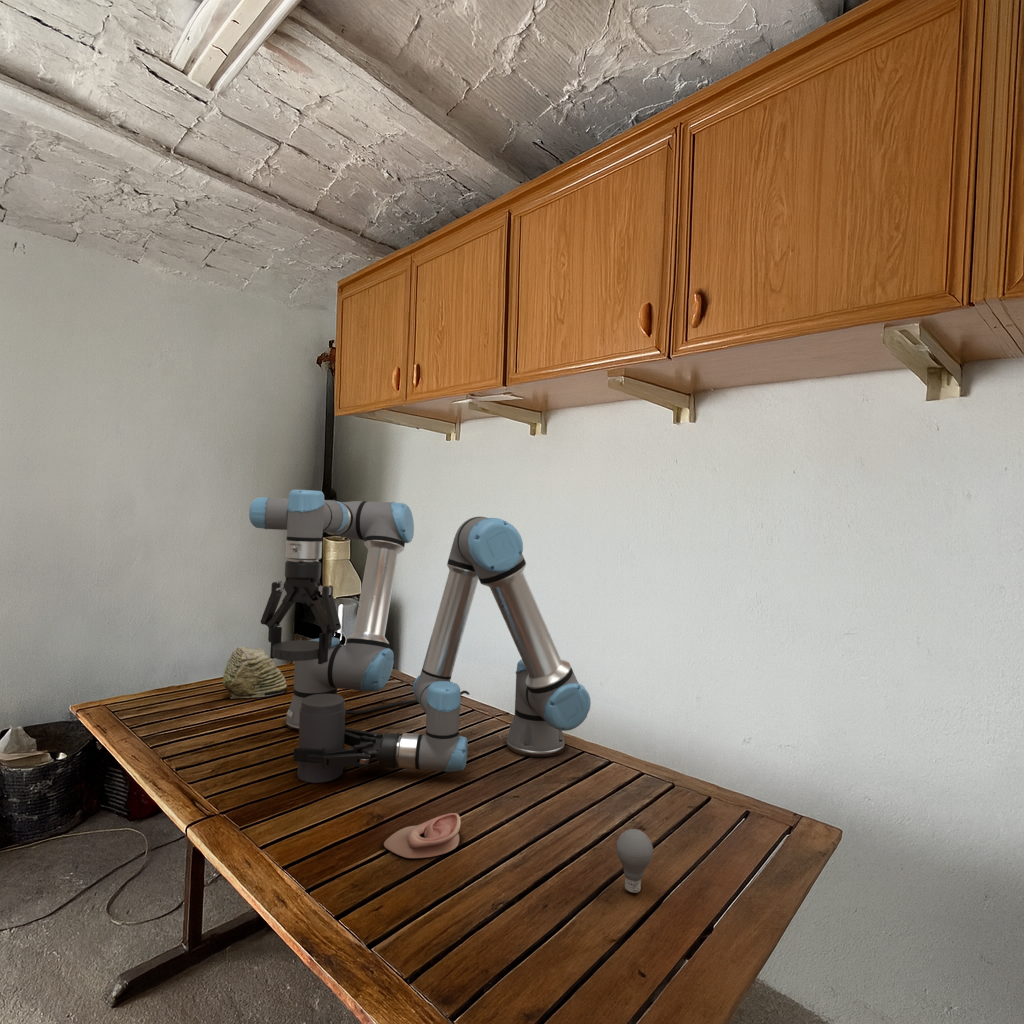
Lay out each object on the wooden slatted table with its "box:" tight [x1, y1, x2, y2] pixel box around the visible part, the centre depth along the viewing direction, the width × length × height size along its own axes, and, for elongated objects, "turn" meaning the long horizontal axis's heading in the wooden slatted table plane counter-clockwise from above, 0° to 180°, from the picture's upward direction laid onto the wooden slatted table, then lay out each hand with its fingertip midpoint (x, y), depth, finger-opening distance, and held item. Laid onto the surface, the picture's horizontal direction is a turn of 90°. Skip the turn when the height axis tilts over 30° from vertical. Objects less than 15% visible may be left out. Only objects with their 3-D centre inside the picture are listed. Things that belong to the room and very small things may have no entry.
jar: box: [296, 694, 346, 784], centre depth 145 cm, size 10×10×17 cm
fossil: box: [222, 646, 288, 699], centre depth 198 cm, size 9×18×15 cm, turn 132°
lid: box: [272, 639, 319, 662], centre depth 139 cm, size 11×11×2 cm
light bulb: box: [615, 828, 654, 894], centre depth 106 cm, size 6×6×10 cm
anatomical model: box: [383, 812, 462, 859], centre depth 117 cm, size 13×4×12 cm
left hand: (298, 660), depth 139 cm, fingers closed on lid, 11 cm apart
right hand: (302, 745), depth 145 cm, fingers closed on jar, 10 cm apart
